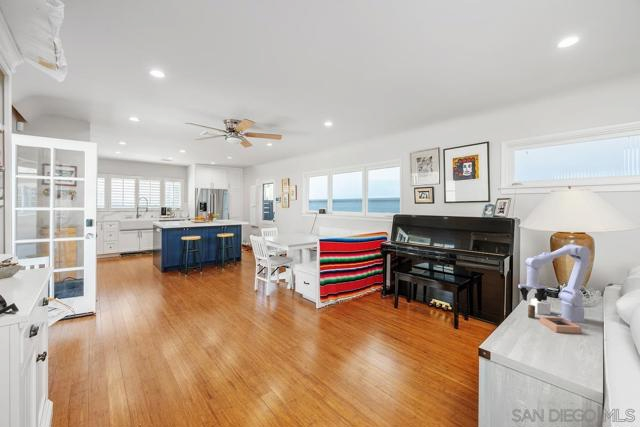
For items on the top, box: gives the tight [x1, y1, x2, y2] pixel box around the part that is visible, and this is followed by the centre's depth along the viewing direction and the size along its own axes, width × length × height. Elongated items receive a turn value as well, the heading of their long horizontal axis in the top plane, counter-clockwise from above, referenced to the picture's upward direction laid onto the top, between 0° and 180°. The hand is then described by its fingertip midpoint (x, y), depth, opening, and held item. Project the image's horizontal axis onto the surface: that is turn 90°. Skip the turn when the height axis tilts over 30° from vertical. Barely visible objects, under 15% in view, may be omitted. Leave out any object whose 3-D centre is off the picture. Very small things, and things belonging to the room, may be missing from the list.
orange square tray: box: [539, 316, 582, 335], centre depth 145 cm, size 12×12×4 cm
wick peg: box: [527, 304, 536, 320], centre depth 159 cm, size 3×3×7 cm
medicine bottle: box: [530, 292, 551, 316], centre depth 166 cm, size 7×7×12 cm
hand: (531, 300), depth 158 cm, fingers open, 7 cm apart
